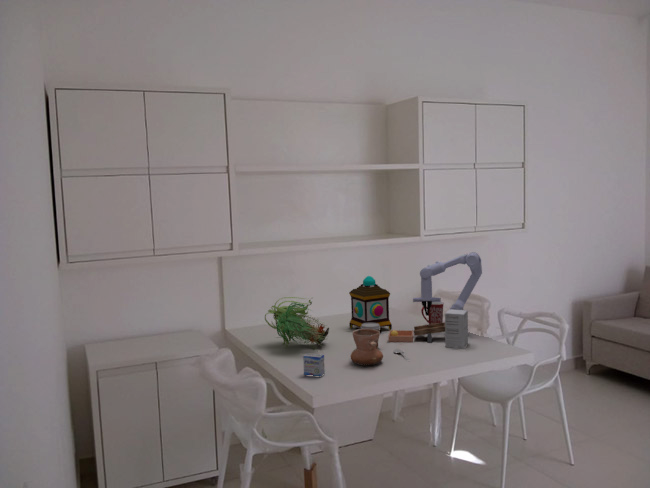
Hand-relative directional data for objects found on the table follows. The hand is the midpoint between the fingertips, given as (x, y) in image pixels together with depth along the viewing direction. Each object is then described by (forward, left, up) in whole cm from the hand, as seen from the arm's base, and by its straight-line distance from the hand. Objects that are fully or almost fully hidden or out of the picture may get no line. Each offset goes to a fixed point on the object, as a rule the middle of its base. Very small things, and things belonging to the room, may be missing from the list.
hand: (427, 315), depth 299 cm
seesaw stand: (-1, +14, -9) cm, 17 cm away
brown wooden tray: (-2, +11, -6) cm, 13 cm away
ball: (+17, +14, -7) cm, 23 cm away
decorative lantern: (+31, -6, -10) cm, 33 cm away
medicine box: (+47, +74, -10) cm, 88 cm away
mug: (-3, -13, -10) cm, 16 cm away
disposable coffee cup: (+27, +33, -10) cm, 44 cm away
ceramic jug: (+27, +55, -10) cm, 62 cm away
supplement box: (-14, +25, -10) cm, 30 cm away
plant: (+61, +34, -10) cm, 70 cm away
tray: (+13, +14, -9) cm, 21 cm away
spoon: (+11, +45, -10) cm, 47 cm away
